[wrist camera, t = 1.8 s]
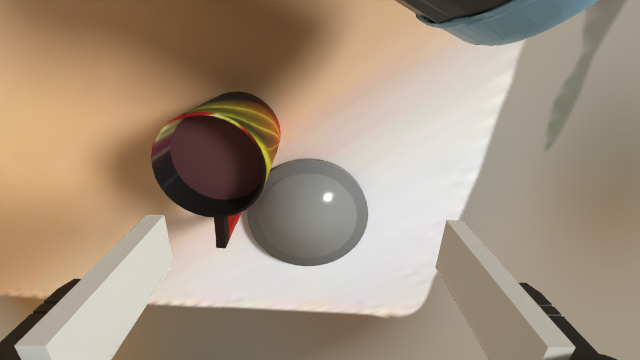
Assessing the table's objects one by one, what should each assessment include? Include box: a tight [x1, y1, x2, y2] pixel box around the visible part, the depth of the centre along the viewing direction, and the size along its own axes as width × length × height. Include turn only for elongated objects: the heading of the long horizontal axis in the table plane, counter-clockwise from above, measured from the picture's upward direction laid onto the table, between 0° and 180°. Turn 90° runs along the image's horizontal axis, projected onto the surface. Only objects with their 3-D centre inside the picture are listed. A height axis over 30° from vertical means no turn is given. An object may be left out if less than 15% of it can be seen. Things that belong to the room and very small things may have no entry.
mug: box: [151, 92, 280, 248], centre depth 32 cm, size 10×14×12 cm
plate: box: [248, 159, 368, 266], centre depth 41 cm, size 16×16×1 cm
